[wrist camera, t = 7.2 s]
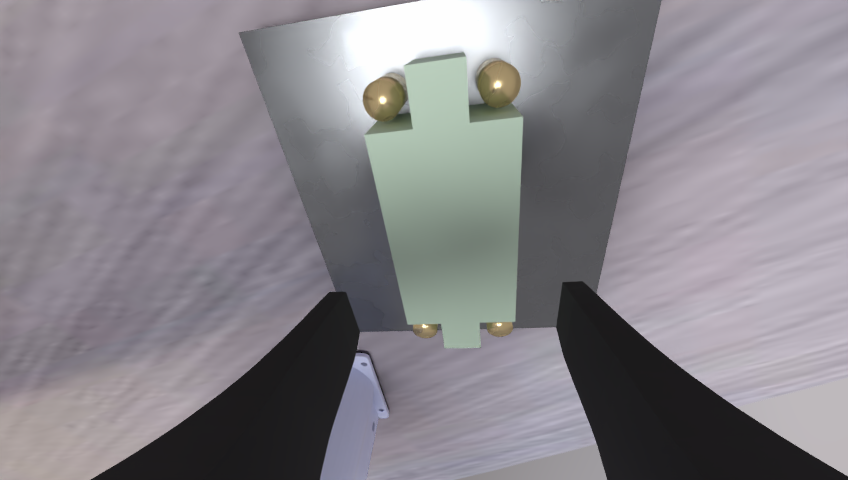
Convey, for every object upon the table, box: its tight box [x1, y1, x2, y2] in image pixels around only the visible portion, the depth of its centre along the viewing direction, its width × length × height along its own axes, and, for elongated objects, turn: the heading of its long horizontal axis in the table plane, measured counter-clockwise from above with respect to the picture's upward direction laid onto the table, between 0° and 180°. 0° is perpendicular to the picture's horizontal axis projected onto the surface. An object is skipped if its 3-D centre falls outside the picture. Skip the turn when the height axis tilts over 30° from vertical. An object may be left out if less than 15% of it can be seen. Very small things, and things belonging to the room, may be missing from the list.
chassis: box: [239, 0, 661, 338], centre depth 16 cm, size 18×16×4 cm
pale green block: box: [364, 52, 523, 348], centre depth 15 cm, size 14×6×3 cm, turn 8°
